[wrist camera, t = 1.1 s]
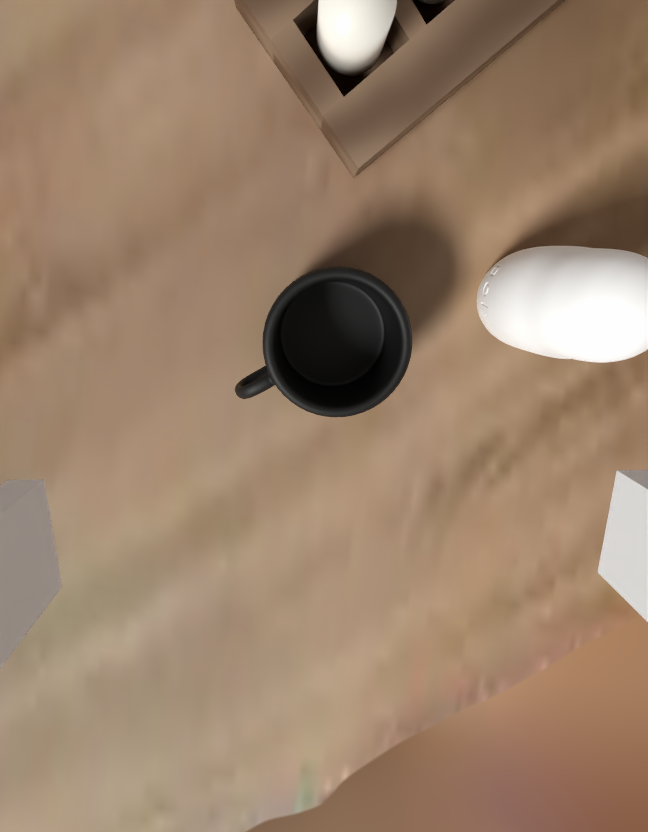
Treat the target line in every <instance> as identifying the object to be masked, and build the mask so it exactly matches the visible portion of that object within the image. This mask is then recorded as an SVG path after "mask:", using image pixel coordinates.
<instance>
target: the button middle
mask: <svg viewBox="0 0 648 832" xmlns="http://www.w3.org/2000/svg"><path fill="white" fill-rule="evenodd" d="M419 1H421V2H423V3H427V4H437V3H441V2H444V1H446V0H419Z"/></svg>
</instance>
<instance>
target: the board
mask: <svg viewBox="0 0 648 832" xmlns="http://www.w3.org/2000/svg"><path fill="white" fill-rule="evenodd" d="M563 1H564V0H454V1H453V2H452V3H451V4H450V5H449V6H448V7H446V8H445V9H444V10H443V11H442V12H441V13H440V14H438V15H437V16H436V17H435V18H434V19H433V20H432V21H430V22H429V23H428V24H427V25H426V23H425V21H424V20H423V18H422V16H421V15H420V13H419V11H418V10H417V8H416V6H415V4H414V3H413V1H412V0H397V6H396V11H395V15H394V18H393V21H392V23H391V26H390V29H389V32H388V35H387V37H386V41H387V42H388V44H389V46H390V47H391V49H392V50H393V52H394V54H393V55H391V56H390V57H389V58H388V59H387V60H386V61H385V62H383V63H382V64H381V65H380V66H379V67H378V68H377V69H375V70H374V71H373V72H372V73H371V74H370V75H369V76H367V77H366V78H365V79H364V80H363V81H362V82H361V83H359V84H358V85H357V86H356V87H355V88H354V89H353V90H351V91H350V92H349V93H348V94H347V95H346V96H345V97H344V96H343V95H342V93H341V92H340V90H339V89H338V87H337V86H336V84H335V83H334V81H333V80H332V78H331V77H330V75H329V74H328V72H327V71H326V69H325V68H324V66H323V65H322V63H321V62H320V60H319V59H318V57H317V56H316V54H315V53H314V51H313V50H312V48H311V47H310V45H309V44H308V42H307V41H306V39H305V38H304V36H303V35H304V34H306V33H307V32H308V31H309V30H310V29H311V28H312V27H313V26H314V25H315V24H317V19H318V3H319V0H235V4H236V8H237V9H238V11H239V12H240V14H241V15H242V17H243V18H244V20H245V21H246V23H247V24H248V25H249V27H250V28H251V30H252V31H253V33H254V34H255V36H256V37H257V38H258V40H259V41H260V43H261V44H262V46H263V47H264V49H265V50H266V52H267V53H268V54H269V56H270V57H271V59H272V60H273V62H274V63H275V65H276V66H277V67H278V69H279V70H280V72H281V73H282V75H283V76H284V78H285V79H286V81H287V82H288V83H289V85H290V86H291V88H292V89H293V91H294V92H295V94H296V95H297V96H298V98H299V99H300V101H301V102H302V104H303V105H304V107H305V108H306V110H307V111H308V112H309V114H310V115H311V117H312V118H313V120H314V121H315V123H316V124H317V125H318V127H319V128H320V130H321V131H322V133H323V134H324V136H325V137H326V139H327V140H328V141H329V143H330V144H331V146H332V147H333V149H334V150H335V152H336V153H337V155H338V156H339V157H340V159H341V160H342V162H343V163H344V165H345V166H346V168H347V169H348V170H349V172H350V173H351V175H352V176H353V178H354V177H355V176H356V175H358V174H359V173H360V172H361V171H362V170H364V169H365V168H366V167H367V166H368V165H370V164H371V163H372V162H373V161H374V160H375V159H377V158H378V157H379V156H380V155H381V154H383V153H384V152H385V151H386V150H387V149H389V148H390V147H391V146H392V145H393V144H394V143H396V142H397V141H398V140H399V139H400V138H402V137H403V136H404V135H405V134H406V133H408V132H409V131H410V130H411V129H412V128H414V127H415V126H416V125H417V124H418V123H419V122H421V121H422V120H423V119H424V118H425V117H427V116H428V115H429V114H430V113H431V112H433V111H434V110H435V109H436V108H437V107H438V106H440V105H441V104H442V103H443V102H444V101H446V100H447V99H448V98H449V97H450V96H452V95H453V94H454V93H455V92H456V91H457V90H459V89H460V88H461V87H462V86H463V85H465V84H466V83H467V82H468V81H469V80H471V79H472V78H473V77H474V76H475V75H477V74H478V73H479V72H480V71H481V70H482V69H484V68H485V67H486V66H487V65H488V64H490V63H491V62H492V61H493V60H494V59H496V58H497V57H498V56H499V55H500V54H501V53H503V52H504V51H505V50H506V49H507V48H509V47H510V46H511V45H512V44H513V43H515V42H516V41H517V40H518V39H519V38H520V37H522V36H523V35H524V34H525V33H526V32H528V31H529V30H530V29H531V28H532V27H534V26H535V25H536V24H537V23H538V22H539V21H541V20H542V19H543V18H544V17H545V16H547V15H548V14H549V13H550V12H551V11H553V10H554V9H555V8H556V7H557V6H559V5H560V4H561V3H562V2H563Z"/></svg>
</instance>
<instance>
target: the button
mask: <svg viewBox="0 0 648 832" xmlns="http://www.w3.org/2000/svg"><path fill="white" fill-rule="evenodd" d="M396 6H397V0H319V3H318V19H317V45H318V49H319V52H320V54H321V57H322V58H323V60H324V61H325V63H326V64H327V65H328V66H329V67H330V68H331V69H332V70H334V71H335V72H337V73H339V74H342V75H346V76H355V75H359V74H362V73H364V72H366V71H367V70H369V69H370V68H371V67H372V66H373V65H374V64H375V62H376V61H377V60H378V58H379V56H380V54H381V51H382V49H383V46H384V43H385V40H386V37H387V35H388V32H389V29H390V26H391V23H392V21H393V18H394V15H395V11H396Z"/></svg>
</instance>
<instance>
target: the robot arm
mask: <svg viewBox="0 0 648 832" xmlns="http://www.w3.org/2000/svg"><path fill="white" fill-rule="evenodd" d="M598 573H599V574H600V575H601V576H602V577H603V578H604V579H605V580H606V581H607V582H608V583H609V584H610V585H611V586H612V587H613V588H614V589H615V590H616V591H617V592H618V593H619V594H620V595H621V596H622V597H623V598H624V599H625V600H626V601H627V602H628V603H629V604H630V605H631V606H632V607H633V608H634V609H635V610H636V611H637V612H638V613H639V614H640V615H641V616H642V617H643V618H644V619H645V620H646V621H647V622H648V470H617V473H616V478H615V483H614V489H613V494H612V499H611V504H610V510H609V515H608V520H607V526H606V531H605V536H604V541H603V547H602V552H601V557H600V563H599V568H598ZM61 587H62V582H61V576H60V570H59V565H58V559H57V553H56V547H55V541H54V536H53V530H52V524H51V518H50V512H49V507H48V501H47V495H46V489H45V483H44V480H8V481H6V482H5V483H3V484H2V485H1V486H0V668H1V666H2V665H3V664H4V663H5V661H6V660H7V659H8V657H9V656H10V655H11V653H12V652H13V651H14V649H15V648H16V647H17V645H18V644H19V643H20V641H21V640H22V639H23V637H24V636H25V635H26V634H27V632H28V631H29V630H30V628H31V627H32V626H33V624H34V623H35V622H36V620H37V619H38V618H39V616H40V615H41V614H42V612H43V611H44V610H45V608H46V607H47V606H48V605H49V603H50V602H51V601H52V599H53V598H54V597H55V595H56V594H57V593H58V591H59V590H60V589H61Z"/></svg>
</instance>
